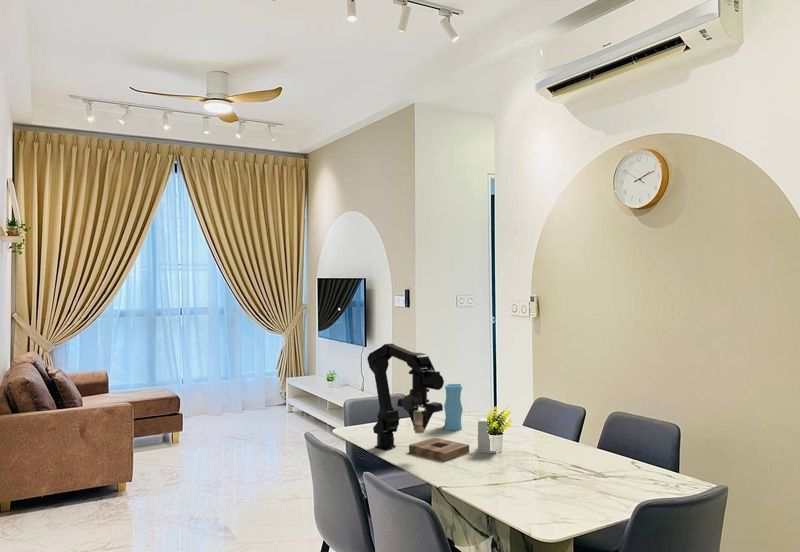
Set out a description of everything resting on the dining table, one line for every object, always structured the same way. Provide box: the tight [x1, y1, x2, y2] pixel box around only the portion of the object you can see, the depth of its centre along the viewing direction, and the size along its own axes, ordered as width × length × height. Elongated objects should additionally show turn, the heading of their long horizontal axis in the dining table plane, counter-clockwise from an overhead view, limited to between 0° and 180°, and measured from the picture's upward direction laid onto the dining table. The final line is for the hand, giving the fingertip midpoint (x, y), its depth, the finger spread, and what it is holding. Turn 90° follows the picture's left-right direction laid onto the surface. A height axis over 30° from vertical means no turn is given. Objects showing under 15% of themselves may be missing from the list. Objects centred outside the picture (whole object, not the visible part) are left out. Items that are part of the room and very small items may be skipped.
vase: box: [443, 383, 463, 431], centre depth 283 cm, size 8×8×20 cm
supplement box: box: [477, 417, 497, 454], centre depth 245 cm, size 7×7×13 cm
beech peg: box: [412, 409, 426, 435], centre depth 234 cm, size 5×5×8 cm
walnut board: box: [408, 436, 470, 462], centre depth 242 cm, size 18×16×3 cm
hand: (419, 427), depth 234 cm, fingers closed on beech peg, 5 cm apart
